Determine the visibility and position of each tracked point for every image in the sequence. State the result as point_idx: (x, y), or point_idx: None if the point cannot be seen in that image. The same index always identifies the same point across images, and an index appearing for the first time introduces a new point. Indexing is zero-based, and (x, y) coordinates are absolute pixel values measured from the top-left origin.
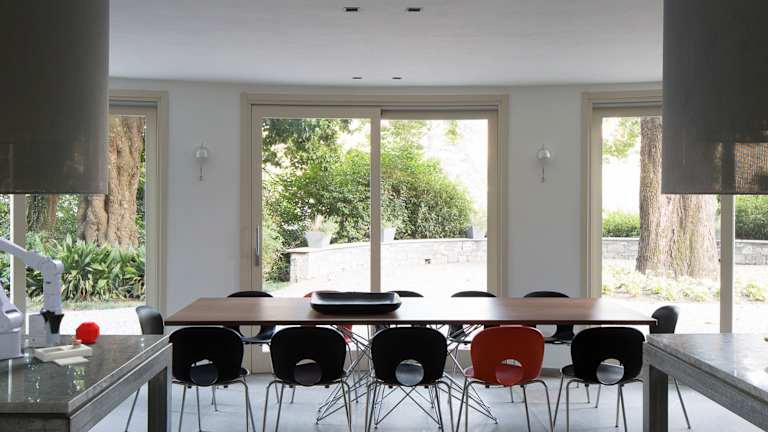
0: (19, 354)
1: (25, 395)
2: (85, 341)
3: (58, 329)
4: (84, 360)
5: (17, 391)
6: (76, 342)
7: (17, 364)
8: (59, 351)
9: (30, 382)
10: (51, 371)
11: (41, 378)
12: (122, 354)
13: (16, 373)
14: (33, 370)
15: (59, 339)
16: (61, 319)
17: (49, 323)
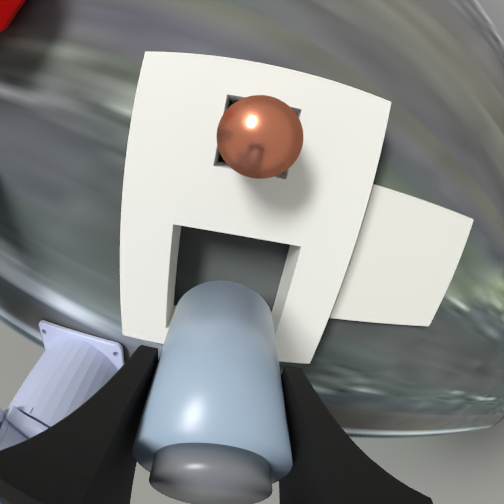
0: (102, 355)
1: (496, 413)
2: (17, 9)
3: (314, 396)
4: (464, 233)
5: (476, 422)
6: (295, 158)
7: None
8: (301, 285)
9: (464, 407)
10: (448, 362)
11: (466, 390)
12: (446, 21)
13: (375, 423)
14: (390, 394)
15: (260, 305)
16: (385, 476)
17: (281, 490)
